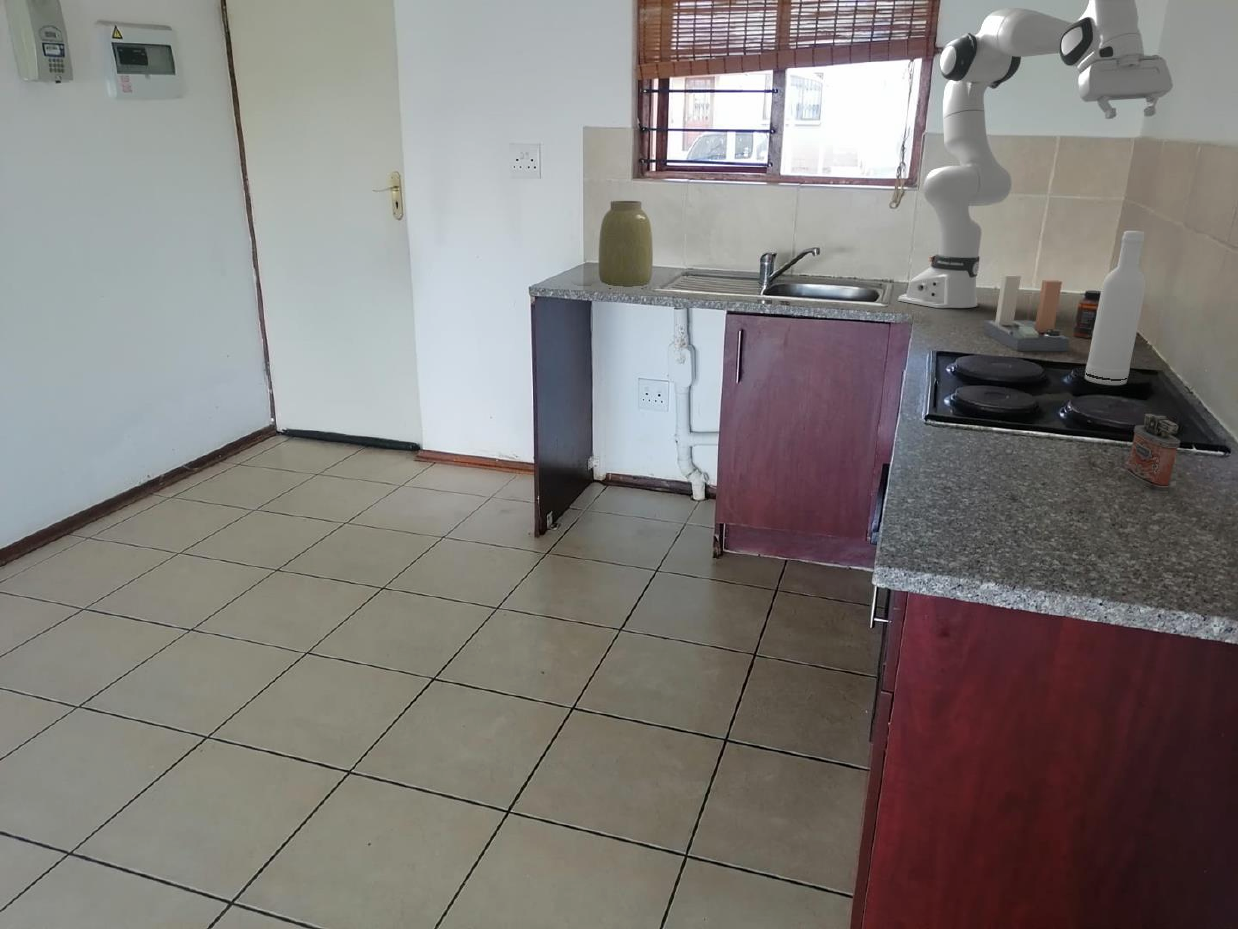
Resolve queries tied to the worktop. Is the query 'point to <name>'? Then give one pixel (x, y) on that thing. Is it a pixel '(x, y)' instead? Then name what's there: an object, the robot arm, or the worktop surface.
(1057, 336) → the platform
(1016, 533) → the worktop surface
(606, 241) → the vase
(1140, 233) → the bottle
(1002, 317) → the cream rectangular block
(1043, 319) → the tall salmon pillar
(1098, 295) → the supplement bottle
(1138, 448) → the lighter
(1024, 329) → the rocker
